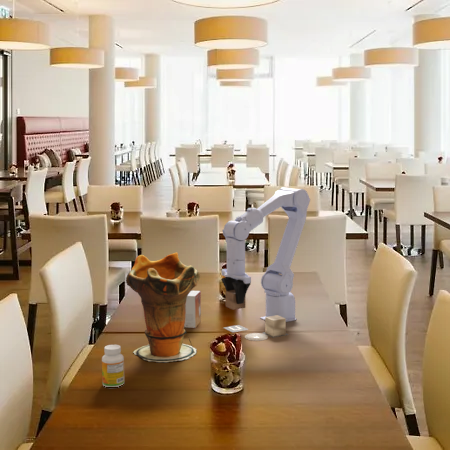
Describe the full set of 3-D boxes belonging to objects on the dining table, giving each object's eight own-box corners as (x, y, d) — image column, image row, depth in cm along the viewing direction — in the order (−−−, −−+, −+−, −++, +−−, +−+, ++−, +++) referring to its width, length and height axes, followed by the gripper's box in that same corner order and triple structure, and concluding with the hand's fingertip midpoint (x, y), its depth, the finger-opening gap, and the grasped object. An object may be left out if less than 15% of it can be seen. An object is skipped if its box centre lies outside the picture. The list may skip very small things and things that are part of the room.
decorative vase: (146, 370, 181) (143, 264, 179) (118, 350, 202) (114, 254, 199) (218, 358, 191) (215, 257, 188) (183, 340, 211) (181, 248, 209)
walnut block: (237, 304, 222) (237, 289, 221) (245, 307, 218) (245, 292, 217) (225, 306, 219) (225, 291, 219) (233, 309, 215) (233, 293, 215)
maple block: (277, 330, 217) (277, 315, 216) (285, 334, 213) (285, 318, 212) (265, 332, 215) (265, 317, 214) (273, 336, 211) (273, 320, 210)
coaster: (259, 333, 215) (259, 331, 215) (272, 339, 209) (272, 337, 209) (240, 336, 212) (240, 335, 212) (252, 342, 206) (252, 341, 206)
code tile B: (277, 330, 218) (277, 329, 218) (288, 335, 213) (288, 334, 213) (261, 333, 215) (261, 332, 215) (272, 338, 210) (272, 337, 210)
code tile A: (238, 325, 224) (238, 324, 224) (248, 330, 219) (248, 329, 219) (222, 328, 221) (222, 327, 221) (232, 332, 216) (232, 332, 215)
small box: (195, 328, 220) (195, 296, 219) (178, 327, 221) (178, 295, 220) (201, 321, 228) (201, 290, 227) (184, 320, 229) (184, 289, 228)
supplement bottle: (103, 381, 175) (102, 343, 174) (125, 380, 175) (124, 343, 174) (101, 389, 170) (100, 350, 168) (123, 388, 170) (122, 350, 169)
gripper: (213, 256, 221) (213, 298, 223) (237, 264, 208) (237, 308, 210) (232, 254, 224) (232, 295, 226) (256, 262, 212) (256, 305, 214)
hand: (235, 301), depth 218 cm, fingers closed on walnut block, 4 cm apart
